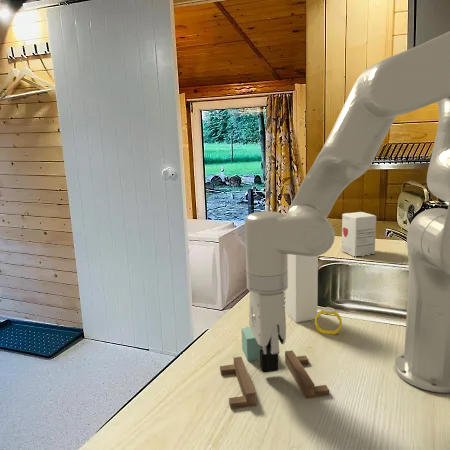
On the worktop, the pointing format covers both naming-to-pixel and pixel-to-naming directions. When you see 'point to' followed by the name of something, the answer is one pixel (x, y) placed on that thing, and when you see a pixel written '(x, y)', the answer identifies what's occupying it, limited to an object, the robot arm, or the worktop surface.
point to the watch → (328, 311)
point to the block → (250, 345)
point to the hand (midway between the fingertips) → (269, 369)
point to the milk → (302, 288)
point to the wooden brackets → (248, 389)
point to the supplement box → (358, 233)
